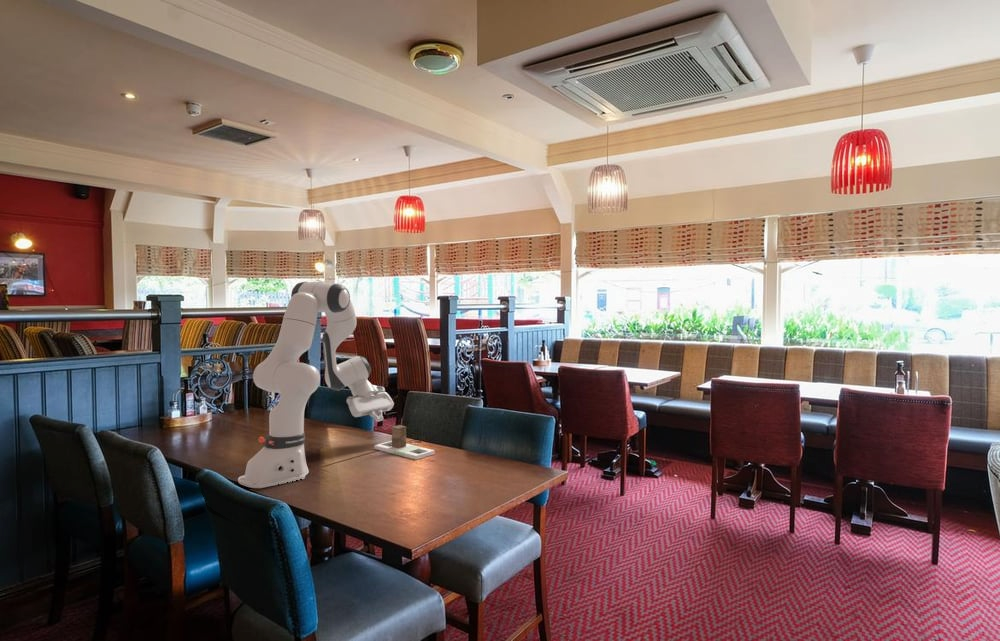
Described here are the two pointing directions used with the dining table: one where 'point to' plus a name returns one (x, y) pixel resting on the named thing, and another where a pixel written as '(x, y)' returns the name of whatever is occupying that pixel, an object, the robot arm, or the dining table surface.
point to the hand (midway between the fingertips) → (380, 420)
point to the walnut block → (398, 436)
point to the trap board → (405, 450)
